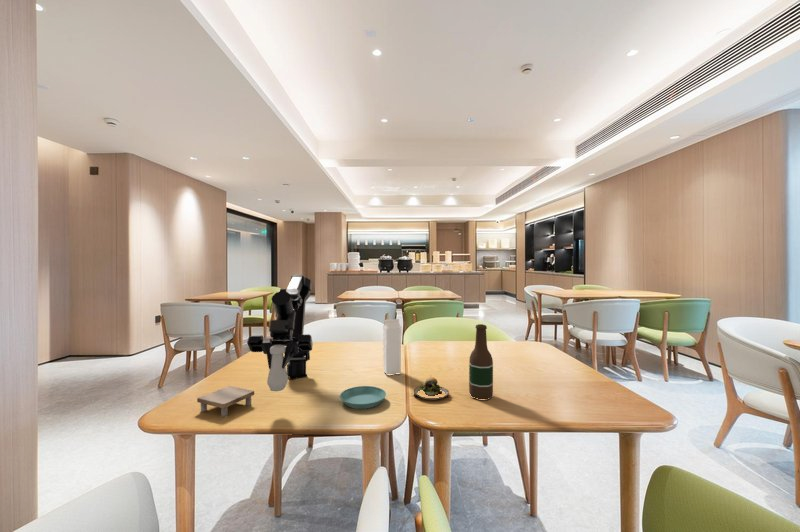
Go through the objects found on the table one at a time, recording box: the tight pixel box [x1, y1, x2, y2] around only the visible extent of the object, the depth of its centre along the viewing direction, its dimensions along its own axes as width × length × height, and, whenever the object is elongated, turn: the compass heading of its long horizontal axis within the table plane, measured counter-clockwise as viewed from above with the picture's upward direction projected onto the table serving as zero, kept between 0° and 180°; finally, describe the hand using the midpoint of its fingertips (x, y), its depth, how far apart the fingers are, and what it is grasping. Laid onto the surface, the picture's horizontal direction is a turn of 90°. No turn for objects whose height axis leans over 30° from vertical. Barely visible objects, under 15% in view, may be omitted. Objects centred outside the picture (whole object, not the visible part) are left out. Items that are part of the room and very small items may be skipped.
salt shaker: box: [266, 345, 289, 392], centre depth 100 cm, size 6×6×13 cm
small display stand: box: [196, 385, 255, 418], centre depth 102 cm, size 11×11×4 cm
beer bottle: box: [468, 323, 494, 399], centre depth 112 cm, size 8×8×24 cm
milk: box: [382, 318, 402, 374], centre depth 136 cm, size 6×6×22 cm
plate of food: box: [413, 376, 450, 400], centre depth 113 cm, size 12×12×8 cm
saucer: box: [339, 385, 387, 410], centre depth 107 cm, size 15×15×3 cm
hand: (276, 368), depth 98 cm, fingers closed on salt shaker, 3 cm apart
